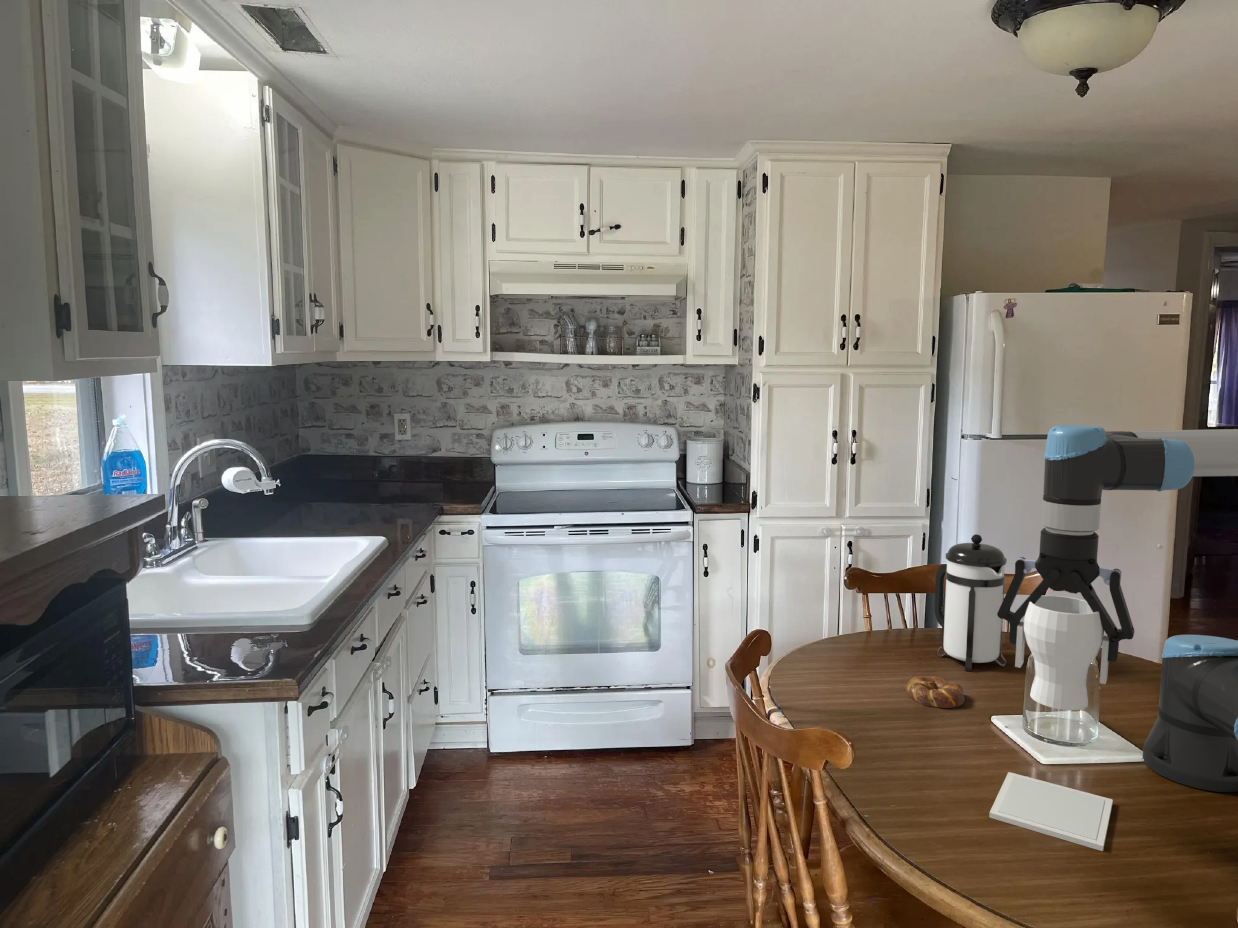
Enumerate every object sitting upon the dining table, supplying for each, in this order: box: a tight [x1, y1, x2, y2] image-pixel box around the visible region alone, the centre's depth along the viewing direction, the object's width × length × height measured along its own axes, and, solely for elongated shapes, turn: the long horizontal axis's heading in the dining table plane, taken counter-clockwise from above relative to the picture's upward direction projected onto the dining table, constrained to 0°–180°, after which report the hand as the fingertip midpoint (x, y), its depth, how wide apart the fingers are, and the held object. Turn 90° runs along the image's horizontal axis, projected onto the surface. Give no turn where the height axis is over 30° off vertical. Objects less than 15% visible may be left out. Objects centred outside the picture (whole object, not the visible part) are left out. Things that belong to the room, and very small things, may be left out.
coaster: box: [988, 771, 1113, 852], centre depth 125 cm, size 15×15×1 cm
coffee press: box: [933, 533, 1008, 672], centre depth 186 cm, size 17×16×30 cm
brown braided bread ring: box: [905, 675, 966, 709], centre depth 167 cm, size 12×11×4 cm
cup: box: [1023, 595, 1105, 711], centre depth 122 cm, size 11×11×15 cm
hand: (1060, 672), depth 122 cm, fingers closed on cup, 11 cm apart
